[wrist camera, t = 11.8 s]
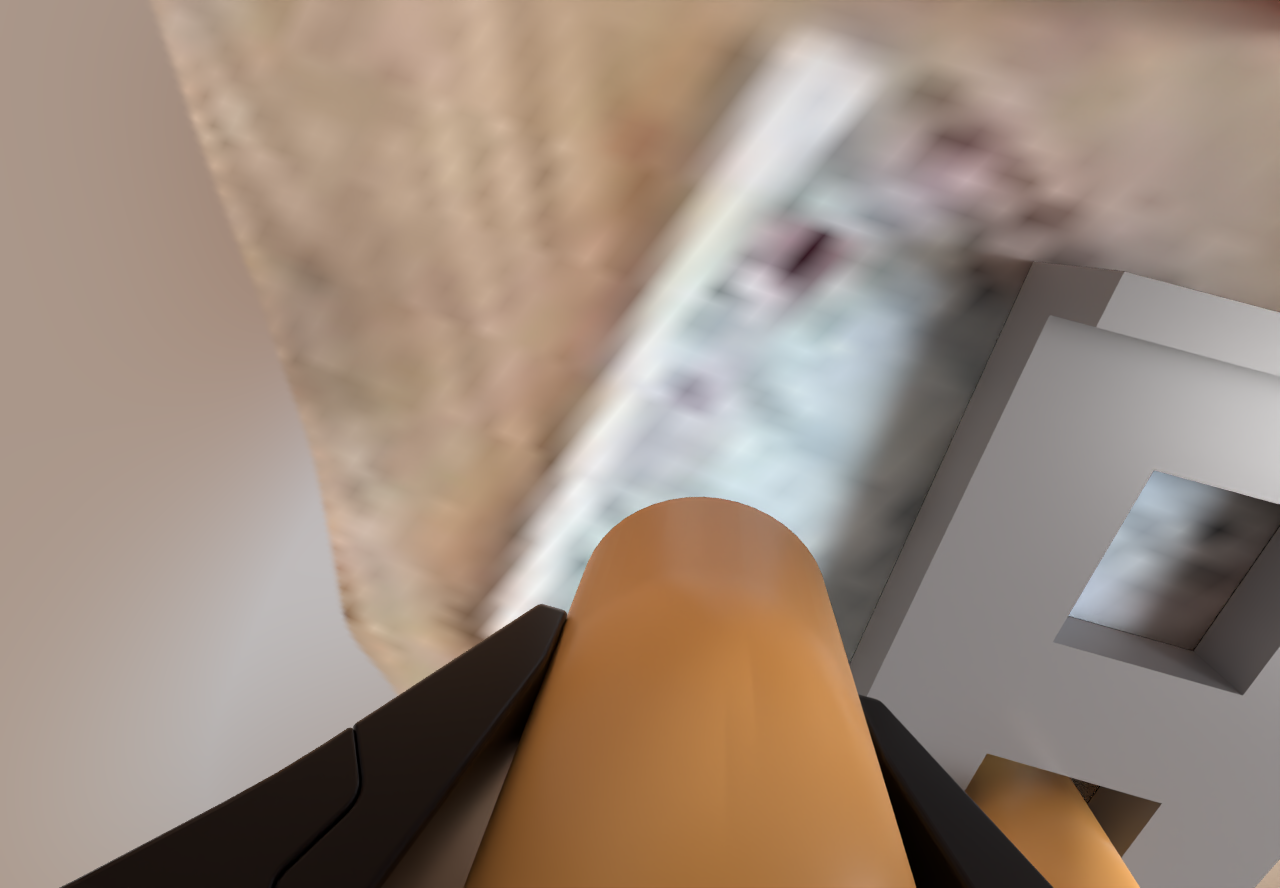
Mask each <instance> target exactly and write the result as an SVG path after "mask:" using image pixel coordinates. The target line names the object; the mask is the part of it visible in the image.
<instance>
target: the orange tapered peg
mask: <svg viewBox="0 0 1280 888" xmlns="http://www.w3.org/2000/svg"><path fill="white" fill-rule="evenodd" d="M965 792H966V793H967V794H968V796H969V797H970V798H971V799H972V800H973V801H974V802H975V803H976V804H977V805H978V806H979V807H980V809H981V810H982V811H983V812H984V813H985V814H986V815H987V816H988V817H989V818H990V819H991V820H992V822H993V823H994V824H995V825H996V826H997V827H998V828H999V829H1000V830H1001V831H1002V832H1003V833H1004V835H1005V836H1006V837H1007V838H1008V839H1009V840H1010V841H1011V842H1012V843H1013V844H1014V845H1015V846H1016V847H1017V849H1018V850H1019V851H1020V852H1021V853H1022V854H1023V855H1024V856H1025V857H1026V858H1027V859H1028V860H1029V862H1030V863H1031V864H1032V865H1033V866H1034V867H1035V868H1036V869H1037V870H1038V871H1039V872H1040V873H1041V875H1042V876H1043V877H1044V878H1045V879H1046V880H1047V881H1048V882H1049V883H1050V884H1051V885H1052V886H1053V888H1140V887H1139V885H1138V883H1137V882H1136V880H1135V879H1134V877H1133V876H1132V874H1131V872H1130V871H1129V869H1128V868H1127V866H1126V865H1125V863H1124V862H1123V860H1122V858H1121V857H1120V855H1119V854H1118V852H1117V851H1116V849H1115V847H1114V846H1113V844H1112V843H1111V841H1110V840H1109V838H1108V836H1107V835H1106V833H1105V832H1104V830H1103V829H1102V827H1101V826H1100V824H1099V822H1098V821H1097V819H1096V818H1095V816H1094V815H1093V813H1092V811H1091V810H1090V808H1089V807H1088V805H1087V804H1086V802H1085V800H1084V799H1083V797H1082V796H1081V794H1080V793H1079V791H1078V790H1077V788H1076V786H1075V785H1074V783H1073V782H1072V780H1071V779H1070V777H1068V776H1064V775H1061V774H1057V773H1054V772H1050V771H1047V770H1043V769H1040V768H1036V767H1033V766H1029V765H1026V764H1022V763H1019V762H1015V761H1012V760H1008V759H1005V758H1001V757H998V756H994V755H991V754H986V756H985V758H984V759H983V761H982V763H981V764H980V766H979V768H978V769H977V771H976V773H975V775H974V776H973V778H972V780H971V781H970V783H969V785H968V786H967V788H966V790H965Z"/></svg>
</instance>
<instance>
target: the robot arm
mask: <svg viewBox="0 0 1280 888" xmlns="http://www.w3.org/2000/svg"><path fill="white" fill-rule="evenodd" d="M566 620H567V613H566V612H565V611H564V610H562V609H558V608H555V607H551V606H548V605H544V604H540V605H537V606H535V607H534V608H532V609H531V610H529V611H528V612H526V613H525V614H523V615H522V616H520V617H519V618H517V619H515V620H514V621H512V622H511V623H509V624H508V625H506V626H505V627H503V628H502V629H500V630H499V631H497V632H495V633H494V634H492V635H491V636H489V637H488V638H486V639H485V640H483V641H482V642H480V643H479V644H477V645H475V646H474V647H472V648H471V649H469V650H468V651H466V652H465V653H463V654H462V655H460V656H459V657H457V658H456V659H454V660H452V661H451V662H449V663H448V664H446V665H445V666H443V667H442V668H440V669H439V670H437V671H436V672H434V673H432V674H431V675H429V676H428V677H426V678H425V679H423V680H422V681H420V682H419V683H417V684H416V685H414V686H412V687H411V688H409V689H408V690H406V691H405V692H403V693H402V694H400V695H399V696H397V697H396V698H394V699H392V700H391V701H389V702H388V703H386V704H385V705H383V706H382V707H380V708H379V709H377V710H376V711H374V712H373V713H371V714H369V715H368V716H366V717H365V718H363V719H362V720H360V721H359V722H357V723H356V724H355V725H354V727H353V729H352V728H347V729H346V730H344V731H343V732H341V733H340V734H338V735H337V736H335V737H334V738H332V739H330V740H329V741H328V742H326V743H324V744H323V745H321V746H320V747H318V748H316V749H315V750H313V751H312V752H310V753H308V754H307V755H305V756H303V757H302V758H300V759H298V760H297V761H295V762H294V763H292V764H291V765H289V766H287V767H285V768H284V769H282V770H280V771H279V772H278V773H275V774H274V775H272V776H270V777H268V778H266V779H265V780H263V781H261V782H259V783H257V784H256V785H254V786H252V787H250V788H248V789H246V790H245V791H243V792H241V793H240V794H237V795H236V796H234V797H232V798H230V799H228V800H227V801H225V802H223V803H221V804H219V805H217V806H215V807H213V808H211V809H210V810H208V811H206V812H204V813H202V814H200V815H198V816H196V817H194V818H192V819H191V820H189V821H187V822H185V823H183V824H181V825H179V826H177V827H175V828H173V829H172V830H170V831H168V832H166V833H164V834H162V835H160V836H158V837H156V838H154V839H152V840H151V841H149V842H147V843H145V844H143V845H141V846H139V847H137V848H135V849H133V850H132V851H130V852H128V853H126V854H124V855H122V856H120V857H118V858H116V859H114V860H112V861H111V862H109V863H107V864H105V865H103V866H101V867H99V868H97V869H95V870H94V871H92V872H90V873H88V874H86V875H84V876H82V877H80V878H78V879H76V880H74V881H72V882H70V883H68V884H66V885H64V886H62V887H60V888H463V887H464V885H465V882H466V879H467V877H468V874H469V871H470V869H471V866H472V864H473V861H474V858H475V856H476V853H477V851H478V848H479V845H480V843H481V840H482V837H483V835H484V832H485V830H486V827H487V824H488V822H489V819H490V817H491V814H492V811H493V809H494V806H495V804H496V801H497V798H498V796H499V793H500V790H501V788H502V785H503V783H504V780H505V777H506V775H507V772H508V770H509V767H510V764H511V762H512V759H513V756H514V754H515V751H516V749H517V746H518V743H519V741H520V738H521V736H522V733H523V730H524V728H525V725H526V722H527V720H528V717H529V715H530V712H531V709H532V707H533V704H534V702H535V699H536V697H537V695H538V692H539V690H540V687H541V685H542V682H543V680H544V677H545V675H546V672H547V669H548V667H549V664H550V661H551V659H552V656H553V654H554V651H555V648H556V646H557V643H558V640H559V638H560V635H561V633H562V630H563V627H564V625H565V622H566ZM858 696H859V699H860V702H861V706H862V709H863V712H864V716H865V719H866V722H867V726H868V729H869V732H870V736H871V739H872V742H873V746H874V749H875V752H876V755H877V759H878V762H879V765H880V769H881V772H882V775H883V779H884V782H885V785H886V789H887V792H888V795H889V799H890V802H891V805H892V809H893V812H894V815H895V819H896V822H897V825H898V828H899V832H900V835H901V838H902V842H903V845H904V848H905V852H906V855H907V858H908V862H909V865H910V868H911V872H912V875H913V878H914V882H915V885H916V888H1053V886H1052V885H1051V884H1050V883H1049V882H1048V881H1047V880H1046V879H1045V878H1044V877H1043V876H1042V875H1041V873H1040V872H1039V871H1038V870H1037V869H1036V868H1035V867H1034V866H1033V865H1032V864H1031V863H1030V862H1029V860H1028V859H1027V858H1026V857H1025V856H1024V855H1023V854H1022V853H1021V852H1020V851H1019V850H1018V849H1017V847H1016V846H1015V845H1014V844H1013V843H1012V842H1011V841H1010V840H1009V839H1008V838H1007V837H1006V836H1005V835H1004V833H1003V832H1002V831H1001V830H1000V829H999V828H998V827H997V826H996V825H995V824H994V823H993V822H992V820H991V819H990V818H989V817H988V816H987V815H986V814H985V813H984V812H983V811H982V810H981V809H980V807H979V806H978V805H977V804H976V803H975V802H974V801H973V800H972V799H971V798H970V797H969V796H968V794H967V793H966V792H965V791H964V790H963V789H962V788H961V787H960V786H959V785H958V784H957V783H956V781H955V780H954V779H953V778H952V777H951V776H950V775H949V774H948V773H947V772H946V771H945V770H944V768H943V767H942V766H941V765H940V764H939V763H938V762H937V761H936V760H935V759H934V758H933V757H932V755H931V754H930V753H929V752H928V751H927V750H926V749H925V748H924V747H923V746H922V745H921V744H920V743H919V741H918V740H917V739H916V738H915V737H914V736H913V735H912V734H911V733H910V732H909V731H908V730H907V728H906V727H905V726H904V725H903V724H902V723H901V722H900V721H899V720H898V719H897V718H896V717H895V715H894V714H893V713H892V712H891V711H890V710H889V709H888V708H887V707H886V706H885V705H884V704H883V703H882V702H881V701H879V700H877V699H874V698H871V697H867V696H864V695H860V694H858Z"/></svg>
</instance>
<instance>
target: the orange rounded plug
mask: <svg viewBox="0 0 1280 888" xmlns="http://www.w3.org/2000/svg"><path fill="white" fill-rule="evenodd" d="M463 888H916V885H915V882H914V878H913V875H912V872H911V868H910V865H909V862H908V858H907V855H906V852H905V848H904V845H903V842H902V838H901V835H900V832H899V828H898V825H897V822H896V819H895V815H894V812H893V809H892V805H891V802H890V799H889V795H888V792H887V789H886V785H885V782H884V779H883V775H882V772H881V769H880V765H879V762H878V759H877V755H876V752H875V749H874V746H873V742H872V739H871V736H870V732H869V729H868V726H867V722H866V719H865V716H864V712H863V709H862V706H861V702H860V699H859V696H858V692H857V689H856V686H855V682H854V679H853V676H852V673H851V669H850V666H849V663H848V659H847V656H846V653H845V649H844V646H843V643H842V639H841V636H840V633H839V629H838V626H837V623H836V619H835V616H834V613H833V609H832V606H831V603H830V600H829V596H828V593H827V590H826V586H825V583H824V580H823V576H822V573H821V571H820V569H819V567H818V565H817V563H816V561H815V559H814V558H813V556H812V555H811V553H810V552H809V550H808V549H807V547H806V546H805V545H804V544H803V543H802V541H801V540H800V539H799V538H798V537H797V536H796V535H795V534H794V533H793V532H792V531H790V530H789V529H788V528H787V527H786V526H785V525H783V524H782V523H780V522H779V521H777V520H776V519H774V518H773V517H771V516H770V515H768V514H766V513H764V512H762V511H759V510H757V509H755V508H753V507H750V506H747V505H744V504H741V503H739V502H734V501H730V500H725V499H719V498H709V497H686V498H679V499H673V500H668V501H664V502H660V503H657V504H653V505H651V506H649V507H646V508H644V509H641V510H639V511H637V512H635V513H634V514H632V515H630V516H628V517H627V518H625V519H624V520H622V521H621V522H620V523H619V524H617V525H616V526H615V527H613V528H612V529H611V530H610V531H609V532H608V533H607V535H606V536H605V537H604V538H603V539H602V540H601V541H600V543H599V544H598V546H597V547H596V548H595V550H594V551H593V553H592V555H591V557H590V559H589V561H588V563H587V566H586V568H585V571H584V573H583V576H582V579H581V581H580V584H579V587H578V589H577V592H576V594H575V597H574V600H573V602H572V605H571V607H570V610H569V613H568V615H567V620H566V622H565V625H564V627H563V630H562V633H561V635H560V638H559V640H558V643H557V646H556V648H555V651H554V654H553V656H552V659H551V661H550V664H549V667H548V669H547V672H546V675H545V677H544V680H543V682H542V685H541V687H540V690H539V692H538V695H537V697H536V699H535V702H534V704H533V707H532V709H531V712H530V715H529V717H528V720H527V722H526V725H525V728H524V730H523V733H522V736H521V738H520V741H519V743H518V746H517V749H516V751H515V754H514V756H513V759H512V762H511V764H510V767H509V770H508V772H507V775H506V777H505V780H504V783H503V785H502V788H501V790H500V793H499V796H498V798H497V801H496V804H495V806H494V809H493V811H492V814H491V817H490V819H489V822H488V824H487V827H486V830H485V832H484V835H483V837H482V840H481V843H480V845H479V848H478V851H477V853H476V856H475V858H474V861H473V864H472V866H471V869H470V871H469V874H468V877H467V879H466V882H465V885H464V887H463Z"/></svg>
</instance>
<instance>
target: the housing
mask: <svg viewBox="0 0 1280 888" xmlns="http://www.w3.org/2000/svg"><path fill="white" fill-rule="evenodd" d="M1154 470H1155V471H1159V472H1162V473H1166V474H1170V475H1173V476H1177V477H1181V478H1184V479H1188V480H1192V481H1195V482H1199V483H1203V484H1206V485H1210V486H1214V487H1217V488H1221V489H1225V490H1228V491H1232V492H1236V493H1239V494H1243V495H1247V496H1250V497H1254V498H1258V499H1261V500H1265V501H1269V502H1272V503H1276V504H1280V312H1276V311H1272V310H1269V309H1265V308H1261V307H1257V306H1253V305H1250V304H1246V303H1242V302H1238V301H1235V300H1231V299H1227V298H1223V297H1219V296H1216V295H1212V294H1208V293H1204V292H1201V291H1197V290H1193V289H1189V288H1185V287H1182V286H1178V285H1174V284H1170V283H1167V282H1163V281H1159V280H1155V279H1151V278H1148V277H1144V276H1140V275H1136V274H1133V273H1129V272H1125V271H1116V270H1107V269H1098V268H1089V267H1080V266H1071V265H1062V264H1053V263H1044V262H1034V261H1033V263H1032V266H1031V268H1030V270H1029V272H1028V274H1027V277H1026V279H1025V281H1024V283H1023V285H1022V288H1021V290H1020V292H1019V294H1018V296H1017V299H1016V301H1015V303H1014V305H1013V307H1012V309H1011V312H1010V314H1009V316H1008V318H1007V320H1006V323H1005V325H1004V327H1003V329H1002V331H1001V334H1000V336H999V338H998V340H997V342H996V345H995V347H994V349H993V351H992V353H991V356H990V358H989V360H988V362H987V364H986V366H985V369H984V371H983V373H982V375H981V377H980V380H979V382H978V384H977V386H976V388H975V391H974V393H973V395H972V397H971V399H970V402H969V404H968V406H967V408H966V410H965V412H964V415H963V417H962V419H961V421H960V423H959V426H958V428H957V430H956V432H955V434H954V437H953V439H952V441H951V443H950V445H949V448H948V450H947V452H946V454H945V456H944V459H943V461H942V463H941V465H940V467H939V469H938V472H937V474H936V476H935V478H934V480H933V483H932V485H931V487H930V489H929V491H928V494H927V496H926V498H925V500H924V502H923V505H922V507H921V509H920V511H919V513H918V515H917V518H916V520H915V522H914V524H913V526H912V529H911V531H910V533H909V535H908V537H907V540H906V542H905V544H904V546H903V548H902V551H901V553H900V555H899V557H898V559H897V562H896V564H895V566H894V568H893V570H892V572H891V575H890V577H889V579H888V581H887V583H886V586H885V588H884V590H883V592H882V594H881V597H880V599H879V601H878V603H877V605H876V608H875V610H874V612H873V614H872V616H871V619H870V621H869V623H868V625H867V627H866V629H865V632H864V634H863V636H862V638H861V640H860V643H859V645H858V647H857V649H856V651H855V654H854V656H853V658H852V660H851V662H850V665H849V666H850V669H851V673H852V676H853V679H854V682H855V686H856V689H857V692H858V694H860V695H864V696H867V697H871V698H874V699H877V700H879V701H881V702H882V703H883V704H884V705H885V706H886V707H887V708H888V709H889V710H890V711H891V712H892V713H893V714H894V715H895V717H896V718H897V719H898V720H899V721H900V722H901V723H902V724H903V725H904V726H905V727H906V728H907V730H908V731H909V732H910V733H911V734H912V735H913V736H914V737H915V738H916V739H917V740H918V741H919V743H920V744H921V745H922V746H923V747H924V748H925V749H926V750H927V751H928V752H929V753H930V754H931V755H932V757H933V758H934V759H935V760H936V761H937V762H938V763H939V764H940V765H941V766H942V767H943V768H944V770H945V771H946V772H947V773H948V774H949V775H950V776H951V777H952V778H953V779H954V780H955V781H956V783H957V784H958V785H959V786H960V787H961V788H962V789H963V790H964V791H965V790H966V788H967V786H968V785H969V783H970V781H971V780H972V778H973V776H974V775H975V773H976V771H977V769H978V768H979V766H980V764H981V763H982V761H983V759H984V758H985V756H986V754H991V755H994V756H998V757H1001V758H1005V759H1008V760H1012V761H1015V762H1019V763H1022V764H1026V765H1029V766H1033V767H1036V768H1040V769H1043V770H1047V771H1050V772H1054V773H1057V774H1061V775H1064V776H1068V777H1071V778H1075V779H1078V780H1082V781H1085V782H1089V783H1092V784H1096V785H1099V786H1100V787H1099V789H1098V790H1097V792H1096V793H1095V794H1094V796H1093V797H1092V799H1091V800H1090V802H1089V803H1088V807H1089V808H1090V810H1091V811H1092V813H1093V815H1094V816H1095V818H1096V819H1097V821H1098V822H1099V824H1100V826H1101V827H1102V829H1103V830H1104V832H1105V833H1106V835H1107V836H1108V838H1109V840H1110V841H1111V843H1112V844H1113V846H1114V847H1115V849H1116V851H1117V852H1118V854H1119V855H1120V857H1121V858H1122V860H1123V862H1124V863H1125V865H1126V866H1127V868H1128V869H1129V871H1130V872H1131V874H1132V876H1133V877H1134V879H1135V880H1136V882H1137V883H1138V885H1139V887H1140V888H1255V887H1256V886H1257V884H1258V883H1259V882H1260V881H1261V880H1262V879H1263V878H1264V876H1265V875H1266V874H1267V873H1268V872H1269V871H1270V870H1271V869H1272V867H1273V866H1274V865H1275V864H1276V863H1277V862H1278V861H1279V859H1280V527H1279V528H1278V530H1277V531H1276V533H1275V534H1274V536H1273V537H1272V539H1271V540H1270V541H1269V543H1268V544H1267V546H1266V547H1265V549H1264V550H1263V552H1262V553H1261V554H1260V556H1259V557H1258V559H1257V560H1256V562H1255V563H1254V565H1253V566H1252V567H1251V569H1250V570H1249V572H1248V573H1247V575H1246V576H1245V578H1244V579H1243V580H1242V582H1241V583H1240V585H1239V586H1238V588H1237V589H1236V591H1235V592H1234V593H1233V595H1232V596H1231V598H1230V599H1229V601H1228V602H1227V604H1226V605H1225V606H1224V608H1223V609H1222V611H1221V612H1220V614H1219V615H1218V617H1217V618H1216V619H1215V621H1214V622H1213V624H1212V625H1211V627H1210V628H1209V630H1208V631H1207V633H1206V634H1205V635H1204V637H1203V638H1202V640H1201V641H1200V643H1199V644H1198V646H1197V647H1196V648H1195V650H1194V651H1190V650H1187V649H1183V648H1180V647H1176V646H1172V645H1169V644H1165V643H1162V642H1158V641H1155V640H1151V639H1147V638H1144V637H1140V636H1137V635H1133V634H1130V633H1126V632H1122V631H1119V630H1115V629H1112V628H1108V627H1105V626H1101V625H1097V624H1094V623H1090V622H1087V621H1083V620H1080V619H1076V618H1072V617H1069V616H1068V615H1069V613H1070V612H1071V610H1072V608H1073V607H1074V605H1075V603H1076V602H1077V600H1078V598H1079V596H1080V595H1081V593H1082V591H1083V590H1084V588H1085V586H1086V585H1087V583H1088V581H1089V580H1090V578H1091V576H1092V574H1093V573H1094V571H1095V569H1096V568H1097V566H1098V564H1099V563H1100V561H1101V559H1102V558H1103V556H1104V554H1105V552H1106V551H1107V549H1108V547H1109V546H1110V544H1111V542H1112V541H1113V539H1114V537H1115V535H1116V534H1117V532H1118V530H1119V529H1120V527H1121V525H1122V524H1123V522H1124V520H1125V519H1126V517H1127V515H1128V513H1129V512H1130V510H1131V508H1132V507H1133V505H1134V503H1135V502H1136V500H1137V498H1138V496H1139V495H1140V493H1141V491H1142V490H1143V488H1144V486H1145V485H1146V483H1147V481H1148V480H1149V478H1150V476H1151V474H1152V473H1153V471H1154Z"/></svg>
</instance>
